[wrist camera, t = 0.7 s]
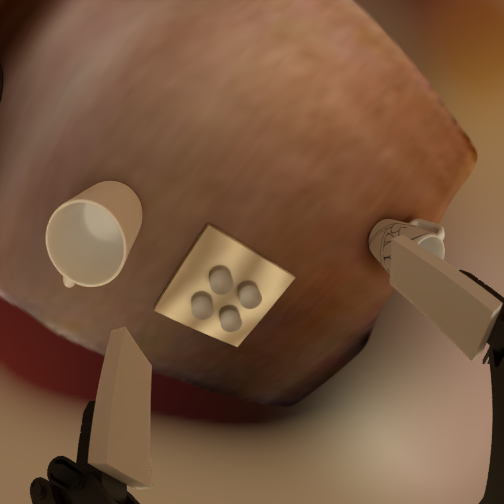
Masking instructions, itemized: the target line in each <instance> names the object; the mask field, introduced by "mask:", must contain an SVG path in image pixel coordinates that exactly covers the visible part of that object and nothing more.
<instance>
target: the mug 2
mask: <svg viewBox="0 0 504 504" xmlns="http://www.w3.org/2000/svg"><path fill="white" fill-rule="evenodd" d="M427 230H428V231H427ZM429 231H431V232H429ZM432 232H434V233H436V234H434V233H432ZM400 235H404V236H406V237H407V238H409V239H411V240H412V241H414V242H416V243H417V244H419V245H420V246H422V247H424V248H425V249H427V250H428V251H430V252H432V253H433V254H435V255H436V256H438V257H439V258H441V259H442V260H444V252H445V250H444V244H443V241H442V240H443V239H444V235H445V234H444V228H443V227H442V226H441V225H439V224H437V223H434V222H430V221H426V220H423V219H414V220H412V221H411V222H409V223H405V222H401V221H397V220H393V219H384V220H381V221H380V222H378V223H377V224H376V225H375V226H374V227H373V229H372V231H371V233H370V235H369V241H368V243H369V249H370V251H371V252H372V254H373V255H374V256H375V258H376V259H377V260H378V261H379V263H380V264H381V265H382V266H383V268H384V269H385V270H386V271H387V272H388V273H389V274H390V271H391V239H392V238H395V237H397V236H400Z"/></svg>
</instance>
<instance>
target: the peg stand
mask: <svg viewBox="0 0 504 504" xmlns="http://www.w3.org/2000/svg"><path fill="white" fill-rule="evenodd" d="M294 279H295V277H294V275H293V274H292V273H290V272H288V271H287V270H285V269H283V268H282V267H280V266H278V265H277V264H275V263H274V262H272V261H270V260H269V259H267V258H265V257H264V256H262V255H260V254H259V253H257V252H256V251H254V250H252V249H251V248H249V247H247V246H246V245H244V244H242V243H241V242H239V241H237V240H236V239H234V238H233V237H231V236H229V235H228V234H226V233H224V232H223V231H221V230H219V229H218V228H216V227H215V226H213V225H211V224H210V223H208V224H207V225H206V226H205V228H204V229H203V231H202V232H201V234H200V235H199V237H198V238H197V240H196V241H195V243H194V244H193V246H192V247H191V249H190V251H189V252H188V254H187V255H186V257H185V258H184V260H183V261H182V263H181V264H180V266H179V267H178V269H177V271H176V272H175V274H174V275H173V277H172V278H171V280H170V282H169V283H168V285H167V286H166V288H165V290H164V291H163V293H162V294H161V296H160V298H159V299H158V301H157V303H156V304H155V306H154V311H156V312H158V313H160V314H163V315H165V316H167V317H169V318H171V319H173V320H175V321H178V322H180V323H182V324H184V325H186V326H189V327H191V328H193V329H195V330H198V331H200V332H202V333H205V334H207V335H210V336H212V337H214V338H217V339H219V340H222V341H224V342H227V343H229V344H232V345H234V346H237V347H238V345H239V344H240V343H241V342H242V341H243V340H244V339H245V337H246V336H247V335H248V334H249V333H250V332H251V330H252V329H253V328H254V327H255V326H256V325H257V323H258V322H259V321H260V320H261V319H262V318H263V316H264V315H265V314H266V313H267V312H268V310H269V309H270V308H271V307H272V306H273V304H274V303H275V302H276V301H277V300H278V298H279V297H280V296H281V295H282V293H283V292H284V291H285V290H286V289H287V287H288V286H289V285H290V284H291V282H292V281H293V280H294Z"/></svg>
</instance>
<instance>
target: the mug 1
mask: <svg viewBox="0 0 504 504" xmlns="http://www.w3.org/2000/svg"><path fill="white" fill-rule="evenodd" d="M142 219H143V212H142V206H141V203H140V200H139V198H138V196H137V195H136V194H135V192H134V191H133V190H132V189H131V188H130V187H128V186H127V185H125V184H123V183H121V182H117V181H103V182H100V183H97V184H95V185H93V186H91V187H90V188H88V189H86V190H85V191H83V192H81V193H80V194H78V195H76V196H75V197H73V198H72V199H70V200H68V201H67V202H65V203H64V204H62V205H61V206H60V207H58V208H57V209H56V210H55V212H54V213H53V214H52V216H51V218H50V220H49V222H48V225H47V229H46V247H47V251H48V254H49V257H50V259H51V261H52V263H53V264H54V266H55V267H56V269H57V270H58V271H59V272H60V273H61V274H62V275H63V283H64V285H65V286H66V287H68V288H71V287H73V286H74V285H75V284H78V285H81V286H86V287H97V286H101V285H104V284H106V283H108V282H110V281H112V280H113V279H114V278H115V277H116V276H117V275H118V274H119V273H120V271H121V270H122V268H123V266H124V263H125V261H126V259H127V257H128V254H129V252H130V250H131V248H132V246H133V243H134V241H135V239H136V237H137V235H138V233H139V230H140V228H141V224H142Z"/></svg>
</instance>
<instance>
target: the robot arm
mask: <svg viewBox="0 0 504 504" xmlns="http://www.w3.org/2000/svg"><path fill="white" fill-rule="evenodd" d="M2 86H3V73H2V67H1V64H0V99H1V93H2ZM390 285H392V286H393V287H394V288H395V289H396V290H397V291H399V292H400V293H401V294H402V295H403V296H404V297H405V298H406V299H408V300H409V301H410V302H411V303H412V304H413V305H414V306H415V307H416V308H417V309H418V310H420V311H421V312H422V313H423V314H424V315H425V316H426V317H427V318H428V319H429V320H430V321H431V322H432V323H433V324H435V325H436V326H437V327H438V328H439V329H440V330H441V331H442V332H443V333H444V334H445V335H446V336H447V337H448V338H449V339H450V340H451V341H452V342H453V343H454V344H455V345H456V346H457V347H458V348H459V349H460V350H461V351H462V352H463V353H464V354H465V355H466V356H467V357H468V358H469V359H470V360H471V361H473V360H474V359H475V358H476V357H477V356H479V355H480V354H481V353H482V351H483V349H484V347H485V345H486V343H488V344H489V345H490V347H489V349H488V351H487V353H486V355H485V357H484V359H483V364H485V362H486V360H487V358H488V357H489V361H488V364H490V370H491V383H492V399H493V400H492V405H493V424H492V425H493V426H492V444H491V456H490V466H489V472H488V479H487V485H486V490H485V494H484V497H483V499H482V500H481V501H480V503H479V504H504V298H503V297H502V296H501V295H500V294H498V293H497V292H495V291H494V290H493V289H492V288H490V287H489V286H488V285H485V284H484V283H483V282H482V281H480V280H478V278H476V277H475V276H474V275H472V274H471V273H468V272H466V271H463V270H457V269H456V268H454V267H453V266H451V265H450V264H448V263H447V262H445V261H444V260H442V259H441V258H439V257H438V256H436V255H435V254H433V253H432V252H430V251H428V250H427V249H425V248H424V247H422V246H420V245H419V244H417V243H416V242H414V241H412V240H411V239H409V238H407V237H406V236H404V235H400V236H397V237H395V238H392V239H391V271H390ZM151 372H152V366H151V364H150V363H149V361H148V360H147V358H146V357H145V356H144V354H143V353H142V351H141V350H140V348H139V347H138V345H137V344H136V342H135V341H134V339H133V338H132V336H131V335H130V333H129V331H128V330H127V328H126V327H122V328H118V329H114V330H112V331H111V334H110V338H109V342H108V346H107V350H106V354H105V359H104V363H103V367H102V372H101V377H100V381H99V387H98V392H97V397H96V401H89V403H88V405H87V407H86V409H85V410H84V413H83V418H82V425H81V433H80V437H79V444H78V453H77V461H76V463H75V462H73V461H72V460H70V459H69V458H67V457H64V456H57V457H56V458H54V459H53V460H52V461H51V462H50V464H49V466H48V469H47V476H48V479H49V481H48V480H46V479H44V478H42V477H39V478H36V479H34V480H33V482H32V483H31V486H30V495H31V499H32V503H33V504H140V503H139V502H138V501H137V500H136V499H135V498H134V497H133V496H132V495H131V494H130V493H129V492H128V491H127V485H128V486H130V487H132V488H134V489H152V488H153V485H152V470H151V446H150V397H151Z"/></svg>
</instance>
